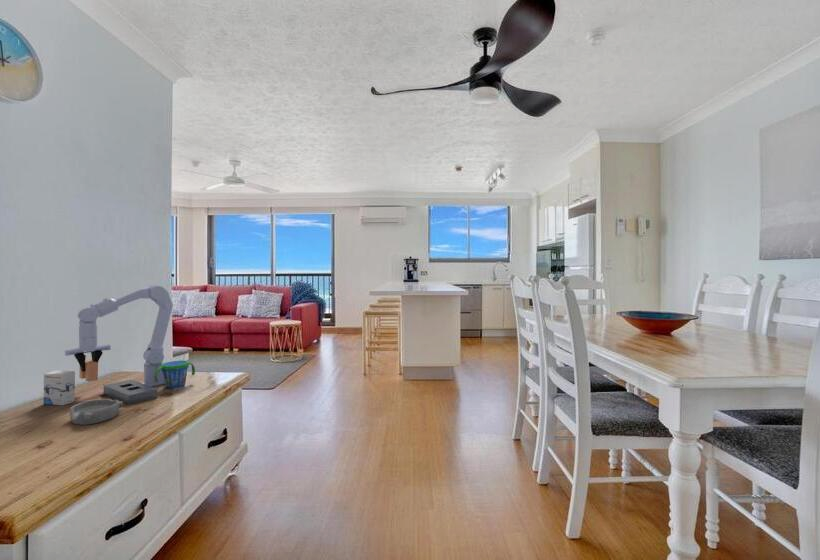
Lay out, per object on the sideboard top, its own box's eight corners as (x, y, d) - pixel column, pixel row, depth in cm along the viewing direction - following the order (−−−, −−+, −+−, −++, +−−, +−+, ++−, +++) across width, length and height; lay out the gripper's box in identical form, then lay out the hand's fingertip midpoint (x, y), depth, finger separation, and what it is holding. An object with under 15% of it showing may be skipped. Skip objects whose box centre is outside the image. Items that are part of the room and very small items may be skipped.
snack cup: (157, 392, 164) (156, 368, 164) (152, 386, 172) (151, 363, 172) (198, 385, 175) (198, 362, 175) (191, 380, 182) (191, 358, 182)
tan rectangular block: (88, 376, 164) (88, 359, 165) (97, 380, 159) (98, 362, 159) (79, 377, 162) (79, 360, 162) (88, 381, 156) (88, 363, 156)
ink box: (42, 404, 149) (42, 373, 148) (56, 400, 154) (55, 370, 153) (63, 405, 148) (62, 374, 148) (76, 401, 153) (75, 371, 153)
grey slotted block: (131, 387, 171) (131, 379, 171) (157, 397, 157) (157, 388, 157) (103, 393, 162) (103, 385, 162) (128, 404, 149) (128, 395, 149)
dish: (91, 428, 127) (91, 412, 127) (57, 424, 130) (57, 409, 130) (131, 412, 141) (131, 398, 141) (99, 409, 144) (99, 396, 144)
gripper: (105, 333, 168) (106, 365, 169) (61, 338, 156) (62, 372, 157) (112, 335, 165) (112, 367, 165) (68, 340, 152) (68, 375, 153)
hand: (88, 370), depth 160 cm, fingers closed on tan rectangular block, 3 cm apart
